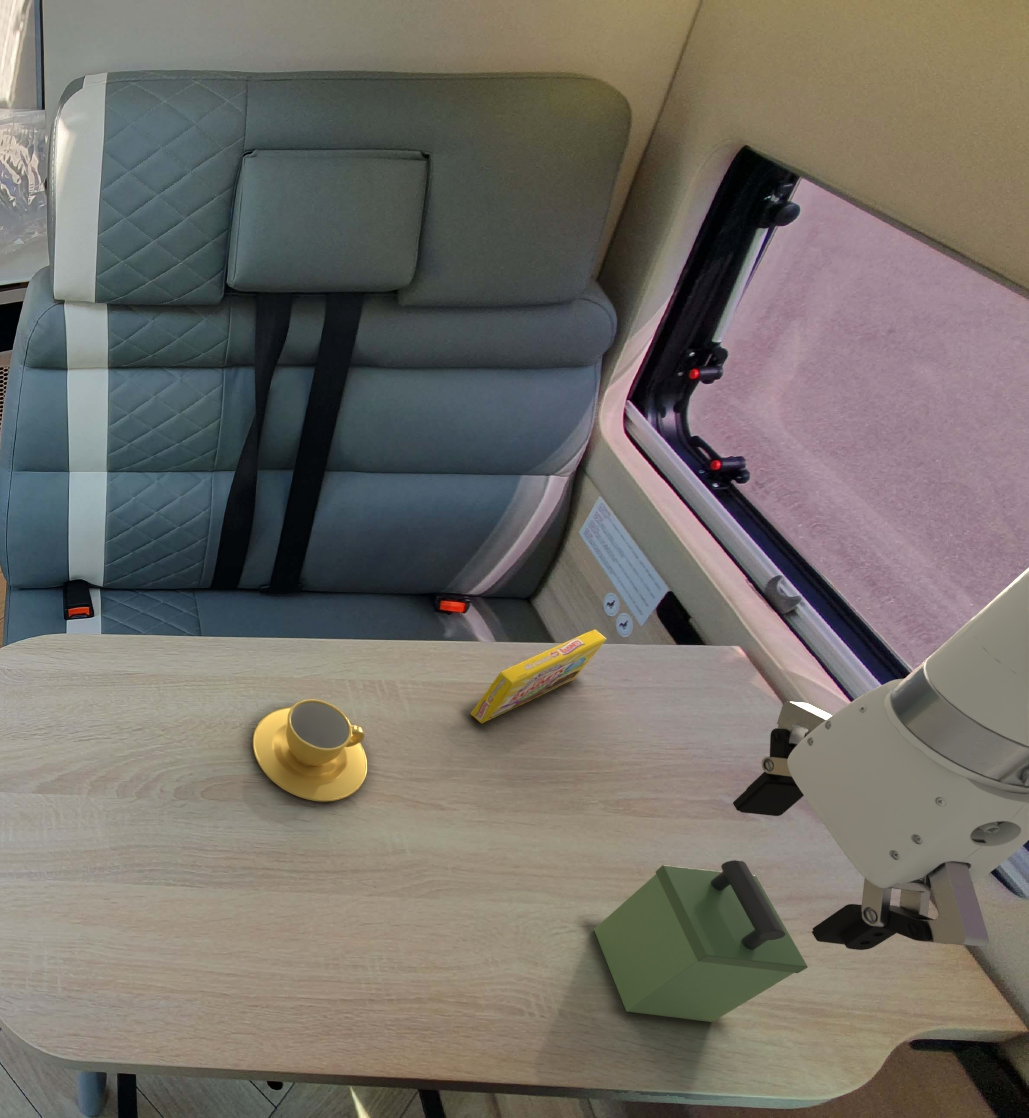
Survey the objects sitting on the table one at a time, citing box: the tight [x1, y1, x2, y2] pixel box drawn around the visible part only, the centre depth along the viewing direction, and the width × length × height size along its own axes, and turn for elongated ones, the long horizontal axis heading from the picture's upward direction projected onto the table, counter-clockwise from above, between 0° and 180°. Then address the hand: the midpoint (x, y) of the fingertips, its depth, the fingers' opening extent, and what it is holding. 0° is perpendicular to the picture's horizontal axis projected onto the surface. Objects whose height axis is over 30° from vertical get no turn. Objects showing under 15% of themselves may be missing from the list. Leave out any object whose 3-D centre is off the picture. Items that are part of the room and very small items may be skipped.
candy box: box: [470, 629, 607, 724], centre depth 91 cm, size 15×2×8 cm, turn 116°
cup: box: [252, 698, 368, 803], centre depth 85 cm, size 12×12×5 cm
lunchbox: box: [593, 859, 809, 1023], centre depth 66 cm, size 7×8×15 cm
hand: (793, 870), depth 57 cm, fingers open, 9 cm apart
